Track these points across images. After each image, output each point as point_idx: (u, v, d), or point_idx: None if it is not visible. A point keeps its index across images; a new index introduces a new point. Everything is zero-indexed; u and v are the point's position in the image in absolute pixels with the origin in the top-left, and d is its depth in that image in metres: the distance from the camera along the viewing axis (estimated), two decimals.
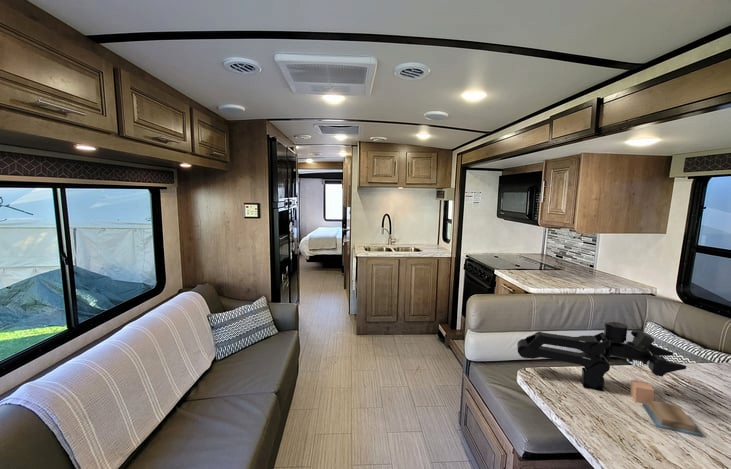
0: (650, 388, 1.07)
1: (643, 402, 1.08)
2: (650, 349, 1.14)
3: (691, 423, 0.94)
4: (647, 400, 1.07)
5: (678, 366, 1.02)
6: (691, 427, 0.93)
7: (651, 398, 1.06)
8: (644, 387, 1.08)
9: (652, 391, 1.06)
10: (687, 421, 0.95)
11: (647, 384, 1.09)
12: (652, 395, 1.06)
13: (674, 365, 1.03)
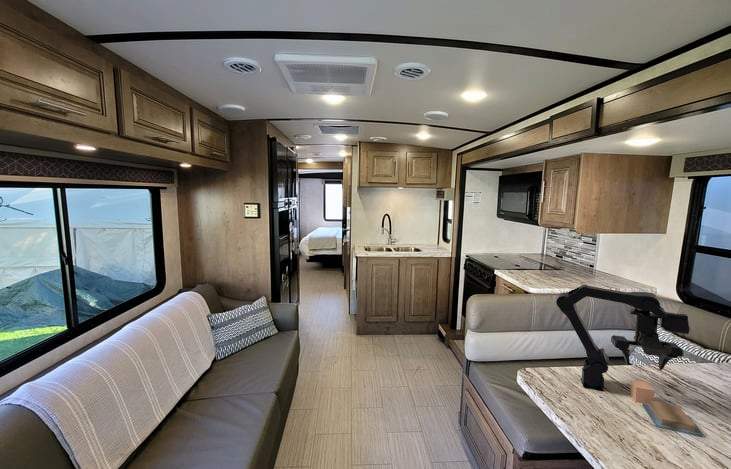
0: (650, 388, 1.07)
1: (643, 402, 1.08)
2: (663, 353, 1.05)
3: (691, 423, 0.94)
4: (647, 400, 1.07)
5: (625, 358, 1.10)
6: (691, 427, 0.93)
7: (651, 398, 1.06)
8: (644, 387, 1.08)
9: (652, 391, 1.06)
10: (687, 421, 0.95)
11: (647, 384, 1.09)
12: (652, 395, 1.06)
13: (624, 356, 1.10)
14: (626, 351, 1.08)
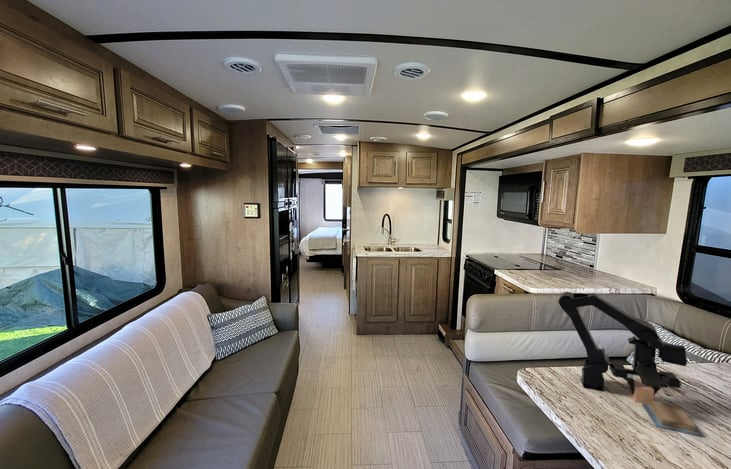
0: (650, 388, 1.07)
1: (643, 402, 1.08)
2: None
3: (691, 423, 0.94)
4: (647, 400, 1.07)
5: (630, 388, 1.11)
6: (691, 427, 0.93)
7: (651, 398, 1.06)
8: (644, 387, 1.08)
9: (652, 391, 1.06)
10: (687, 421, 0.95)
11: None
12: (652, 395, 1.06)
13: (629, 385, 1.11)
14: (631, 381, 1.09)
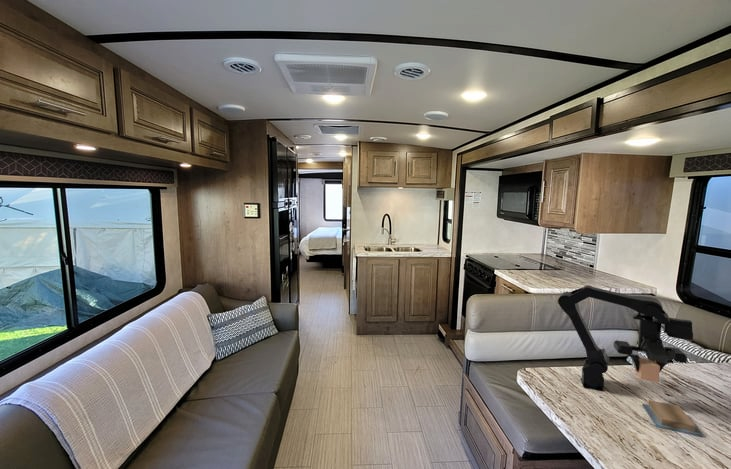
0: (656, 364, 1.05)
1: (648, 379, 1.05)
2: None
3: (691, 423, 0.94)
4: (653, 376, 1.05)
5: (635, 365, 1.08)
6: (691, 427, 0.93)
7: (657, 374, 1.04)
8: (649, 363, 1.05)
9: (658, 367, 1.04)
10: (687, 421, 0.95)
11: None
12: (658, 371, 1.04)
13: (634, 362, 1.08)
14: (636, 358, 1.06)
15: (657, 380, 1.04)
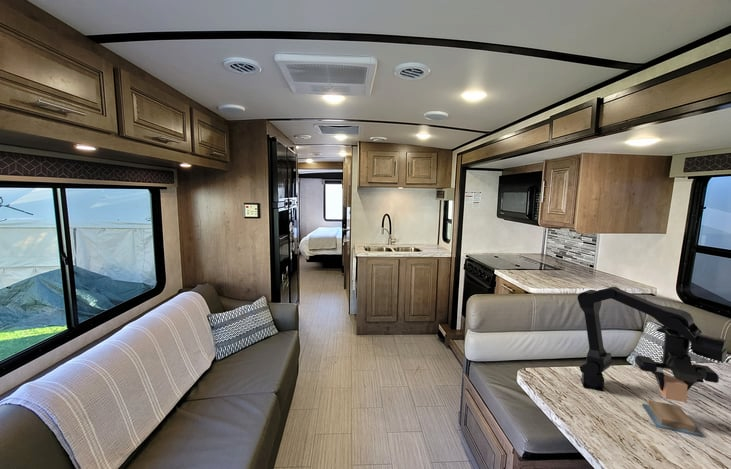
0: (683, 383, 0.96)
1: (674, 398, 0.96)
2: None
3: (691, 423, 0.94)
4: (679, 396, 0.96)
5: (659, 383, 0.99)
6: (691, 427, 0.93)
7: (684, 394, 0.95)
8: (676, 382, 0.96)
9: (685, 386, 0.95)
10: (687, 421, 0.95)
11: None
12: (685, 391, 0.95)
13: (658, 380, 0.99)
14: (661, 375, 0.97)
15: (684, 400, 0.95)
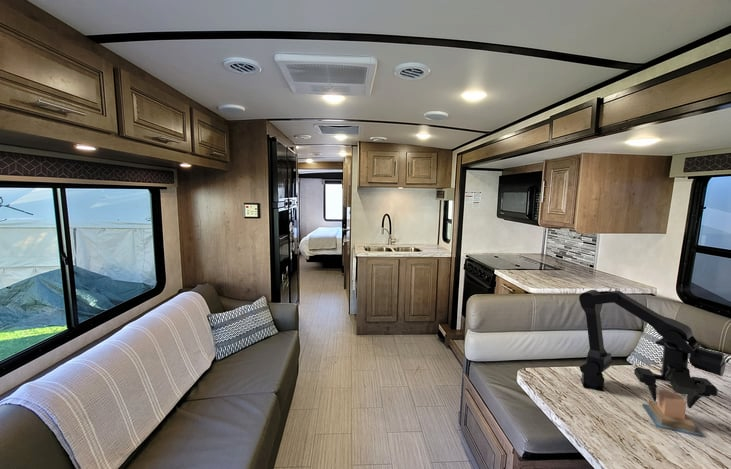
0: (681, 399, 0.96)
1: (673, 415, 0.97)
2: None
3: (691, 423, 0.94)
4: (678, 413, 0.96)
5: (651, 394, 1.01)
6: (691, 427, 0.93)
7: (682, 411, 0.96)
8: (674, 398, 0.97)
9: (684, 403, 0.95)
10: (687, 421, 0.95)
11: (677, 395, 0.99)
12: (684, 407, 0.96)
13: (651, 391, 1.00)
14: (653, 386, 0.98)
15: (683, 417, 0.96)
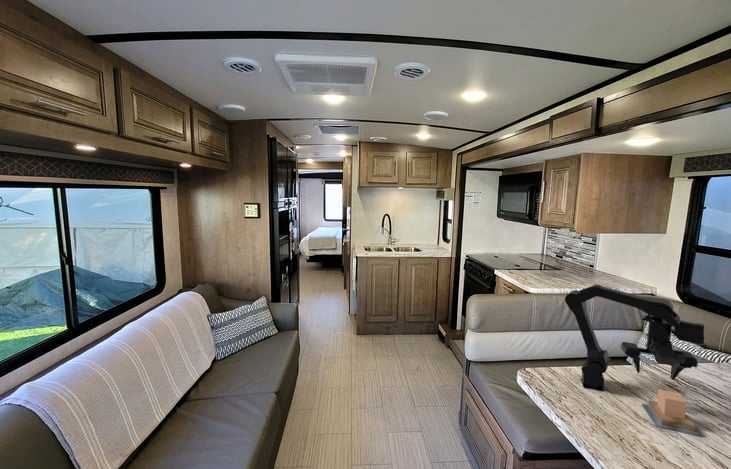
0: (681, 399, 0.96)
1: (673, 415, 0.97)
2: (676, 362, 1.01)
3: (691, 423, 0.94)
4: (678, 413, 0.96)
5: (635, 366, 1.07)
6: (691, 427, 0.93)
7: (682, 411, 0.96)
8: (674, 398, 0.97)
9: (684, 403, 0.95)
10: (687, 421, 0.95)
11: (677, 395, 0.99)
12: (684, 407, 0.96)
13: (635, 363, 1.06)
14: (637, 359, 1.04)
15: (683, 417, 0.96)
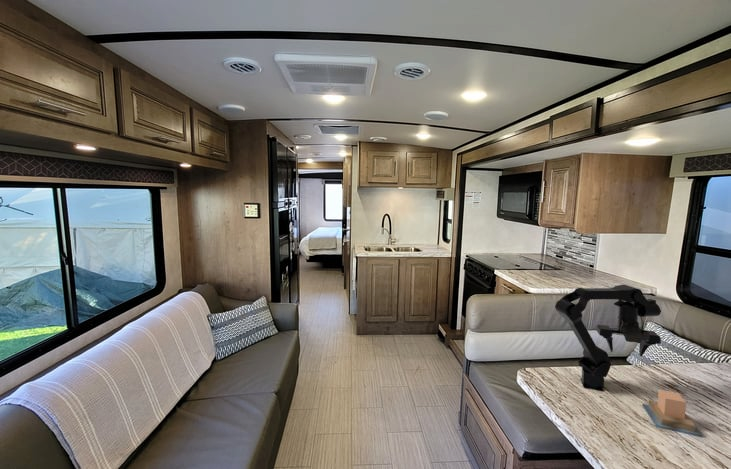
0: (681, 399, 0.96)
1: (673, 415, 0.97)
2: (643, 341, 1.15)
3: (691, 423, 0.94)
4: (678, 413, 0.96)
5: (609, 346, 1.20)
6: (691, 427, 0.93)
7: (682, 411, 0.96)
8: (674, 398, 0.97)
9: (684, 403, 0.95)
10: (687, 421, 0.95)
11: (677, 395, 0.99)
12: (684, 407, 0.96)
13: (608, 343, 1.20)
14: (609, 339, 1.18)
15: (683, 417, 0.96)
